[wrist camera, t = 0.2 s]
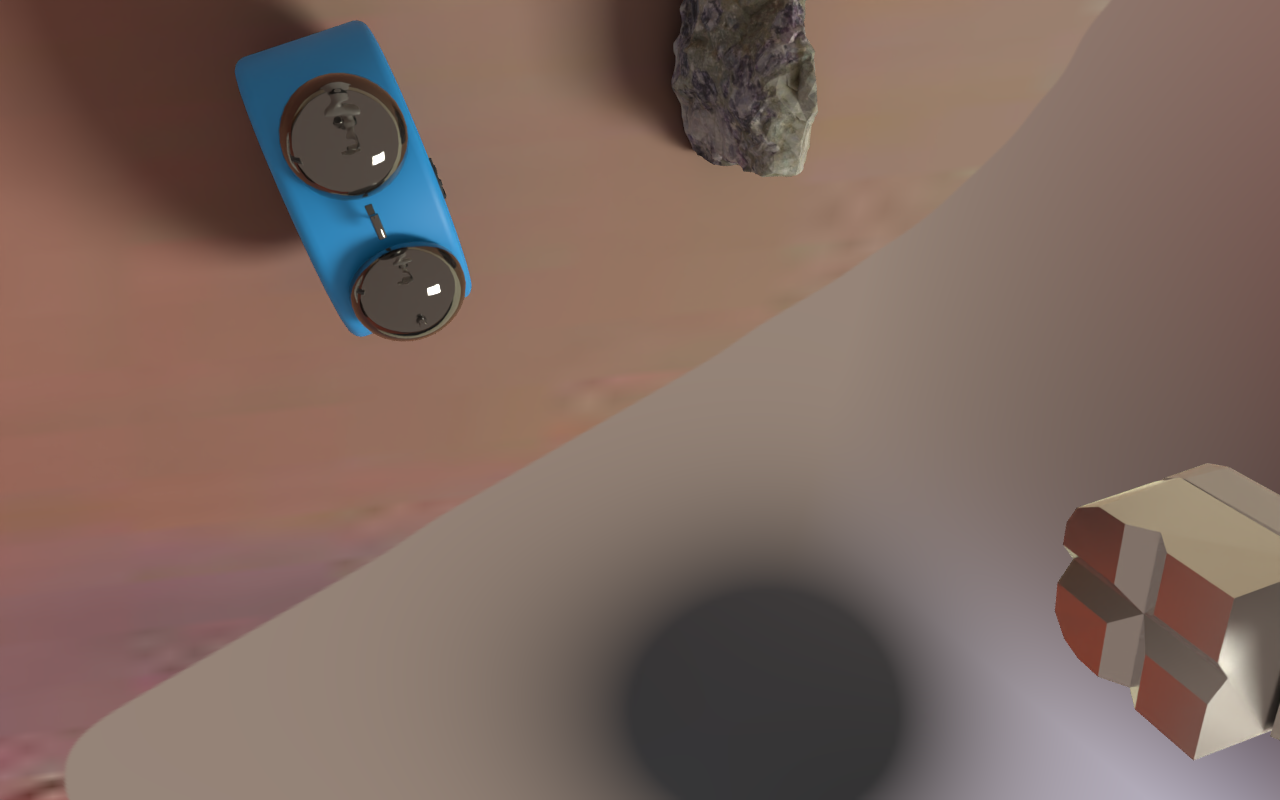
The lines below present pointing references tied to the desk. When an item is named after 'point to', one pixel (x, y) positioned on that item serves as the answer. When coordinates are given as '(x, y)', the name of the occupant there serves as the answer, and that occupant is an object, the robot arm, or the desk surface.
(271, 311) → the desk surface
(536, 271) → the desk surface
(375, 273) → the alarm clock
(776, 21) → the mineral rock
